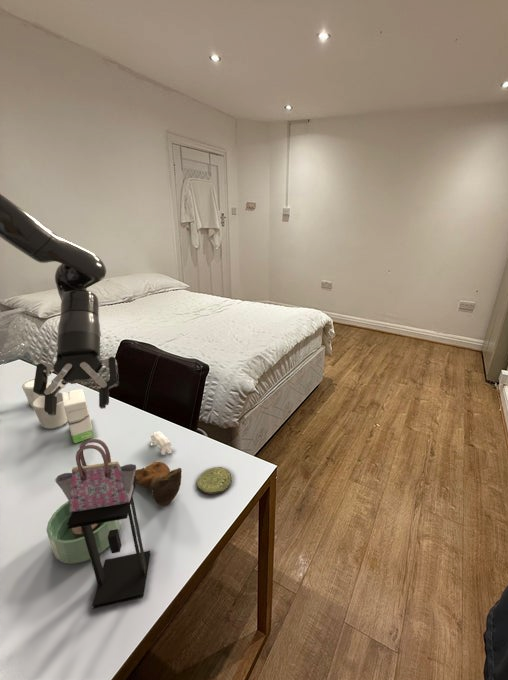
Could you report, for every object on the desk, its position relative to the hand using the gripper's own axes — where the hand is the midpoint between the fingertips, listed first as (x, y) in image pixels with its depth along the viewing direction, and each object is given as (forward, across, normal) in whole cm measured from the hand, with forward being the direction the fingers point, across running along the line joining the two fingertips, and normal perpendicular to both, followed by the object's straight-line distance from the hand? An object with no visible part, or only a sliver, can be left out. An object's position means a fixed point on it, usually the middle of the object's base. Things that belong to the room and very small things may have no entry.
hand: (77, 411), depth 63 cm
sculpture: (+18, +12, +14) cm, 26 cm away
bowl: (+23, 0, +8) cm, 25 cm away
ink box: (-2, -8, +34) cm, 34 cm away
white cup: (-16, -23, +48) cm, 56 cm away
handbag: (+31, +7, +1) cm, 32 cm away
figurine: (+8, +13, +24) cm, 28 cm away
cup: (-7, -16, +39) cm, 43 cm away
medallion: (+19, +25, +13) cm, 34 cm away
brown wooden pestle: (+23, 0, +8) cm, 24 cm away
